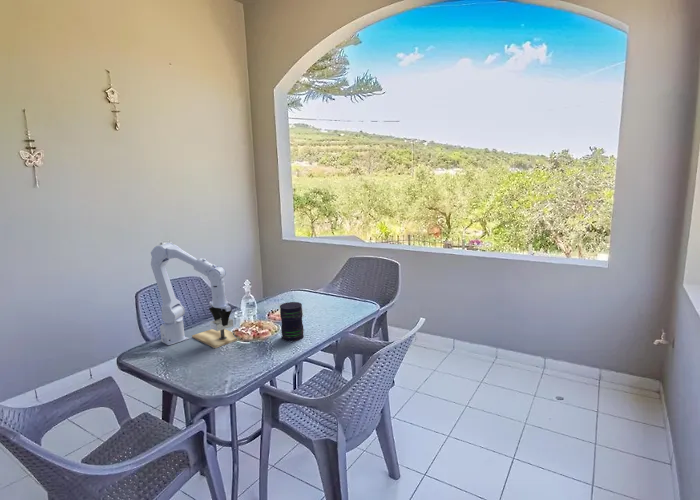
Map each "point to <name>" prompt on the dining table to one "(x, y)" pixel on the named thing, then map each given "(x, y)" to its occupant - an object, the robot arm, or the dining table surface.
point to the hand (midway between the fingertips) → (221, 323)
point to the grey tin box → (220, 324)
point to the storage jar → (291, 321)
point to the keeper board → (215, 337)
